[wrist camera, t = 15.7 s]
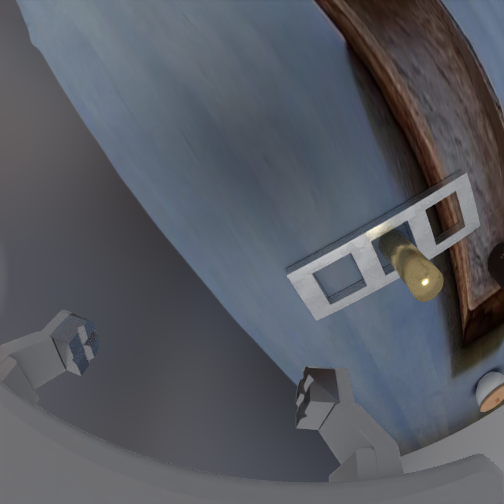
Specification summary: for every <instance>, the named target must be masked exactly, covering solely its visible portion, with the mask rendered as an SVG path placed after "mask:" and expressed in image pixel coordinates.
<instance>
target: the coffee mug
mask: <svg viewBox="0 0 504 504" xmlns="http://www.w3.org/2000/svg"><path fill="white" fill-rule="evenodd" d="M488 271H489V273H490V274H491V275H492V276H493V277H494V279H495V280H496V281H497V282H498V284H499V285H500V286H501V288H502V289H503V290H504V243H500V244H498V245H497V246H496V247H495V248H494V249H493V251H492V252H491V254H490V257H489V260H488Z"/></svg>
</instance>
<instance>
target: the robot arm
mask: <svg viewBox="0 0 504 504" xmlns="http://www.w3.org/2000/svg"><path fill="white" fill-rule="evenodd" d="M94 330H95V324H94V322H93V321H92V320H89V319H87V318H84V317H81V316H79V315H76V314H74V313H70V312H68V311H65V310H62V311H60V312H59V313H58V314H57V315H56V316H55V317H54V319H53V320H52V321H51V322H50V323H49V324H48V325H47V326H46V327H45V328H44V329H43V330H42V331H41V332H39V331H37V332H35V333H32V334H29V335H27V336H24V337H21V338H19V339H16V340H13V341H11V342H8V343H5V344H3V345H1V346H0V504H504V472H503V471H502V470H501V469H500V468H499V467H498V466H497V465H496V464H495V463H494V462H493V461H491V460H490V459H489V458H487V457H486V456H484V455H483V454H475V455H472V456H469V457H466V458H463V459H460V460H457V461H454V462H451V463H447V464H444V465H440V466H437V467H433V468H429V469H425V470H421V471H417V472H412V473H407V474H404V473H403V468H402V463H401V458H400V453H399V448H398V444H397V443H396V442H395V441H394V440H393V439H392V438H391V437H390V436H389V435H388V434H387V433H386V432H385V431H384V430H383V429H382V428H381V427H380V426H379V424H378V423H377V422H376V421H375V420H374V419H373V418H372V417H371V416H370V415H369V414H368V413H367V412H366V411H365V410H364V409H363V408H362V407H361V406H360V405H359V404H355V401H354V396H353V391H352V385H351V380H350V375H349V371H348V369H347V368H332V367H318V366H306V367H305V369H304V372H303V379H301V380H300V382H299V384H298V388H297V393H296V404H297V405H298V406H299V408H298V411H297V412H296V428H301V429H314V430H319V432H320V434H321V435H322V437H323V438H324V440H325V441H326V443H327V444H328V446H329V447H330V449H331V450H332V452H333V453H334V455H335V456H336V458H337V459H338V461H339V462H340V464H341V466H340V467H339V468H338V469H336V470H335V471H334V472H333V473H332V474H331V475H330V476H329V482H328V483H292V482H273V481H262V480H251V479H244V478H237V477H230V476H224V475H218V474H213V473H208V472H203V471H198V470H194V469H189V468H185V467H181V466H177V465H173V464H170V463H166V462H163V461H159V460H156V459H153V458H150V457H147V456H144V455H141V454H138V453H135V452H132V451H130V450H127V449H124V448H122V447H119V446H117V445H114V444H112V443H109V442H107V441H104V440H102V439H100V438H97V437H95V436H93V435H91V434H89V433H87V432H85V431H82V430H80V429H78V428H76V427H74V426H73V425H70V424H69V423H67V422H65V421H63V420H61V419H59V418H58V417H55V416H54V415H52V414H50V413H49V412H47V411H45V410H44V409H42V408H40V407H39V406H37V403H38V401H39V397H38V396H37V394H36V393H35V391H34V389H36V388H37V387H39V386H41V385H42V384H44V383H46V382H47V381H49V380H51V379H53V378H54V377H56V376H58V375H59V374H61V373H62V372H64V371H66V370H68V371H70V372H73V373H75V374H78V375H80V376H82V375H83V373H84V372H85V370H86V369H87V367H88V366H89V360H90V359H92V358H94V357H95V356H96V354H97V352H98V348H99V339H98V336H97V335H96V333H95V332H94ZM65 369H66V370H65Z"/></svg>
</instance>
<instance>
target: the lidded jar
mask: <svg viewBox="0 0 504 504" xmlns="http://www.w3.org/2000/svg"><path fill="white" fill-rule="evenodd" d="M503 399H504V375H503V374H501V373H499V372H493V371H492V372H489V373H487V374H486V375H485V376H483V377H482V378H481V380H480V381H479V382H478V384H477V389H476V400H477V403H478V406H479V409H480V411H481V412H485V411H488V410H490V409H492V408H493V407H495V406H496V405H497V404H499V403H500V402H501V401H502V400H503Z"/></svg>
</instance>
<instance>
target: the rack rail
mask: <svg viewBox="0 0 504 504" xmlns="http://www.w3.org/2000/svg"><path fill="white" fill-rule="evenodd" d="M450 194H451V197H452V200H453V204H454V207H455V211H456V214H457V218H458V223H457V224H455V225H454V226H452V227H451V228H449V229H448V230H446V231H444V232H443V233H441V234H440V235H438V236H437V237H435V238H434V237H433V233H432V230H431V227H430V224H429V221H428V218H427V215H426V212H425V210H426V209H427V208H429V207H430V206H432V205H434V204H435V203H437V202H439V201H440V200H442V199H443V198H445V197H447V196H448V195H450ZM404 222H405V225H406V228H407V230H408V233H409V236H410V239H411V241H412V244H413V245H414V246H415V247H416V248H417V249H418V250H419V251H420V252H421V253H422V254H423V255H424V256H425V257H426V258H427V259H428V260H430V259H431V258H433V257H435V256H436V255H438V254H439V253H441V252H442V251H444V250H445V249H447V248H449V247H450V246H452V245H453V244H455V243H456V242H458V241H459V240H461V239H462V238H464V237H465V236H467V235H468V234H469V233H471V232H472V231H474V230H475V229H477V228H478V227H479V226H480V223H479V218H478V213H477V209H476V205H475V200H474V196H473V193H472V189H471V185H470V182H469V178H468V175H467V172H464V171H461V170H458V171H457V172H455V173H453V174H452V175H450V176H449V177H447V178H445V179H444V180H442V181H440V182H439V183H437V184H435V185H434V186H432V187H430V188H429V189H427V190H425V191H424V192H422V193H420V194H419V195H417V196H415V197H414V198H412V199H410V200H408V201H407V202H405V203H403V204H402V205H400V206H398V207H396V208H395V209H393V210H391V211H389V212H388V213H386V214H384V215H383V216H381V217H379V218H377V219H376V220H374V221H372V222H370V223H368V224H367V225H365V226H363V227H361V228H360V229H358V230H356V231H354V232H352V233H351V234H349V235H347V236H345V237H343V238H342V239H340V240H338V241H336V242H334V243H333V244H331V245H329V246H327V247H325V248H323V249H322V250H320V251H318V252H316V253H314V254H312V255H311V256H309V257H307V258H305V259H303V260H301V261H299V262H298V263H296V264H294V265H292V266H290V267H288V268H286V274H287V277H288V278H289V280H290V281H291V283H292V284H293V286H294V287H295V289H296V290H297V292H298V293H299V295H300V297H301V298H302V300H303V301H304V303H305V304H306V306H307V307H308V309H309V310H310V312H311V313H312V315H313V317H314V318H315V320H316V321H317V320H319V319H321V318H323V317H325V316H328V315H330V314H332V313H334V312H336V311H338V310H340V309H342V308H344V307H346V306H348V305H350V304H352V303H354V302H356V301H357V300H359V299H361V298H363V297H365V296H367V295H369V294H371V293H373V292H374V291H376V290H378V289H380V288H382V287H384V286H385V285H387V284H389V283H391V282H393V281H394V280H396V279H398V278H400V276H399V275H398V273H397V272H396V271H395V269H394V268H393V266H392V265H391V264H390V265H388V266H386V267H385V268H383V269H382V266H381V264H380V262H379V259H378V257H377V255H376V252H375V250H374V248H373V246H372V244H371V241H373V240H374V239H376V238H378V237H380V236H381V235H383V234H385V233H387V232H388V231H390V230H392V229H393V228H395V227H397V226H399V225H400V224H402V223H404ZM349 253H351V254H352V256H353V258H354V260H355V262H356V264H357V266H358V268H359V270H360V272H361V274H362V276H363V278H364V279H363V280H361V281H359V282H357V283H355V284H353V285H351V286H350V287H348V288H346V289H344V290H342V291H340V292H338V293H336V294H334V295H332V296H330V297H328V296H327V294H326V293H325V291H324V289H323V288H322V286H321V284H320V283H319V281H318V279H317V277H316V276H315V274H314V272H316V271H318V270H319V269H321V268H323V267H325V266H327V265H329V264H331V263H333V262H334V261H336V260H338V259H340V258H342V257H344V256H345V255H347V254H349Z"/></svg>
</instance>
